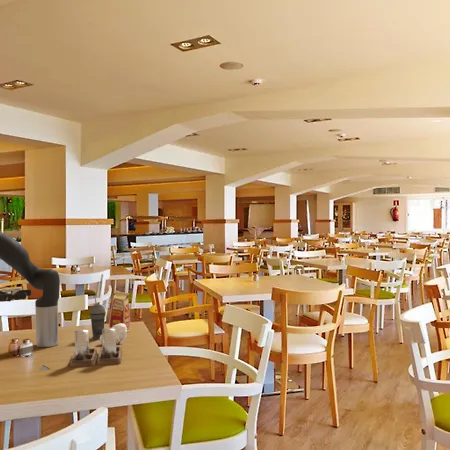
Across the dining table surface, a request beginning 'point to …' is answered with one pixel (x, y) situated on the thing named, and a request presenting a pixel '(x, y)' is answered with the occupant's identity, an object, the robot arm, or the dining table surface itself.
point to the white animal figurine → (119, 333)
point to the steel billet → (82, 344)
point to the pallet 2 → (110, 360)
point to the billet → (109, 342)
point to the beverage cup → (97, 319)
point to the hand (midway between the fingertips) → (28, 294)
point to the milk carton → (120, 310)
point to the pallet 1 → (80, 363)
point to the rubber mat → (44, 368)
